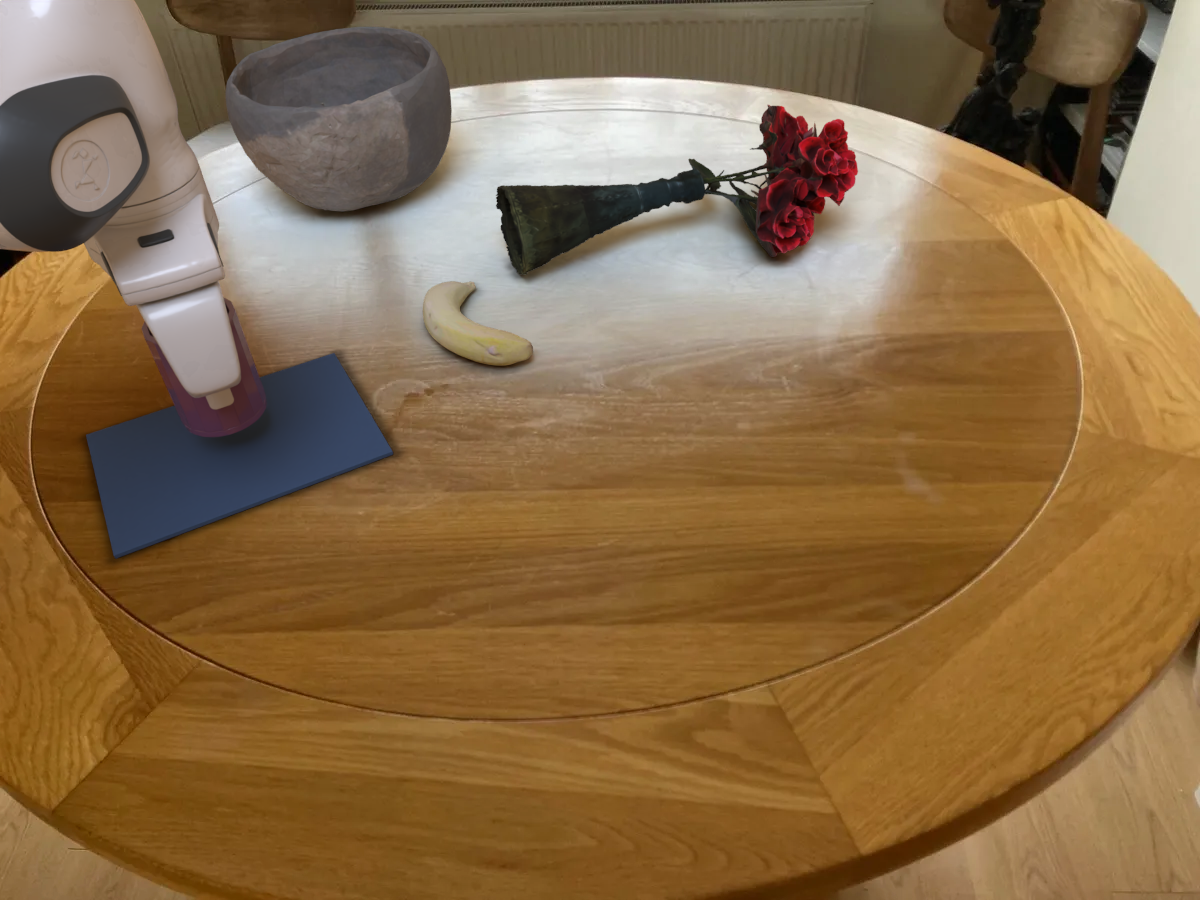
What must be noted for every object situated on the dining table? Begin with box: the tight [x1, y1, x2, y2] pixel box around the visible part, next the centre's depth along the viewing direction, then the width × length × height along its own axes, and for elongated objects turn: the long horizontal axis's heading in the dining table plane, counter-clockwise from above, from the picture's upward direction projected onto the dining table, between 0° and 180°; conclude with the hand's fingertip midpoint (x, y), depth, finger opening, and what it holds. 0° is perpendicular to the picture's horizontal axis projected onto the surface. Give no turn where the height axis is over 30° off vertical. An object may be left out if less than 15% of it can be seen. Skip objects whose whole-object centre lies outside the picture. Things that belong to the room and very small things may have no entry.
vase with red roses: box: [495, 104, 859, 276], centre depth 97 cm, size 16×18×35 cm
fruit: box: [422, 280, 534, 366], centre depth 90 cm, size 7×15×3 cm, turn 28°
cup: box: [141, 296, 267, 437], centre depth 75 cm, size 7×7×9 cm
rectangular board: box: [85, 352, 394, 559], centre depth 81 cm, size 22×16×1 cm
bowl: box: [224, 26, 453, 212], centre depth 109 cm, size 24×24×15 cm
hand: (210, 374), depth 76 cm, fingers closed on cup, 7 cm apart
